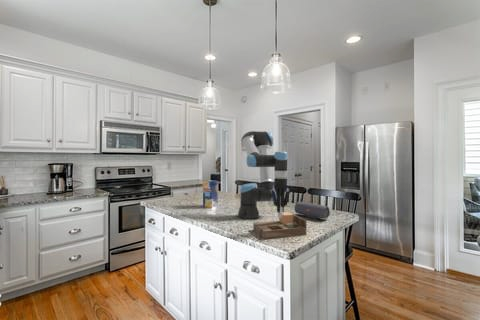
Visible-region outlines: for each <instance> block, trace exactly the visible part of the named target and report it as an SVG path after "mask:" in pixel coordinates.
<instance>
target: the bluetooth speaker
mask: <svg viewBox="0 0 480 320" xmlns="http://www.w3.org/2000/svg"><path fill="white" fill-rule="evenodd" d="M294 212H295V213H296V214H299V215H303V216H304V217H306V218H310V219H315V220H319V219H324V220H326V219H328V218H329V217H330V207H329V206H326V205H323V204H319V203H313V202H305V201H304V202H303V201H296V203H295V205H294Z"/></svg>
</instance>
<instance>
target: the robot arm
mask: <svg viewBox="0 0 480 320" xmlns="http://www.w3.org/2000/svg"><path fill="white" fill-rule="evenodd" d="M240 141H241V146H242V147H243V148H244V150H245V152H246V155H247V156H246V159H245V160H246V167H249V168H259V177H260V181H259V182H258V183H255V182H251V183H250V182H249V183H246V184H245V183H244V184H242V185H240V206H239V208H238V212H237V218H240V219H243V220H254V219H258V218H259V217H260V211H259V208H258V206H257V205H258V202H261V203H262V202H273V206H276V212H277V217H278V219H279V218H283V213H285V207H286V206H287V205H288V202H289V197H290V194H291V192H292V190H291V189H289V188H288V178H287V177H288V160H289V159H288V152H286V151H274V154H271V149H272V147H273V145H274V137H273V133H271V131H266V130H265V131H260V130H259V131H255V130H253V131H248V132H246V133H244V135H243V136H242V137H241V140H240ZM272 168H274V169H273V170H274V171H273V172H274V173H272ZM273 174H274V175H273ZM273 177H274V178H273ZM273 179H274V180H273Z"/></svg>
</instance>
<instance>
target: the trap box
mask: <svg viewBox="0 0 480 320" xmlns="http://www.w3.org/2000/svg"><path fill="white" fill-rule="evenodd" d="M290 213H291V214H293V223H289V224H283V223H281V222H280V221H279V220H271V221H270V220H269V221H260V222H253V224H252V225H253V226H252V227H253V231H254V232H255V233H257V235H259V236H260V237H261V238H263V239H264V240H269V239H278V238H288V237H296V236H304V235H307V219H305V218H304V217H303V218H302V217H300V216H298V215H296V214H294V213H292V212H290Z"/></svg>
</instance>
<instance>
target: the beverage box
mask: <svg viewBox="0 0 480 320" xmlns="http://www.w3.org/2000/svg"><path fill="white" fill-rule="evenodd" d="M218 184H219V182H218V180H212V179H211V180H210V179H205V180H203V181H202V207H204V208H208V209H214V208H218V207H219V206H218V203H219V201H218V196H219V195H218V191H219V188H218V187H219V185H218Z"/></svg>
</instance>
